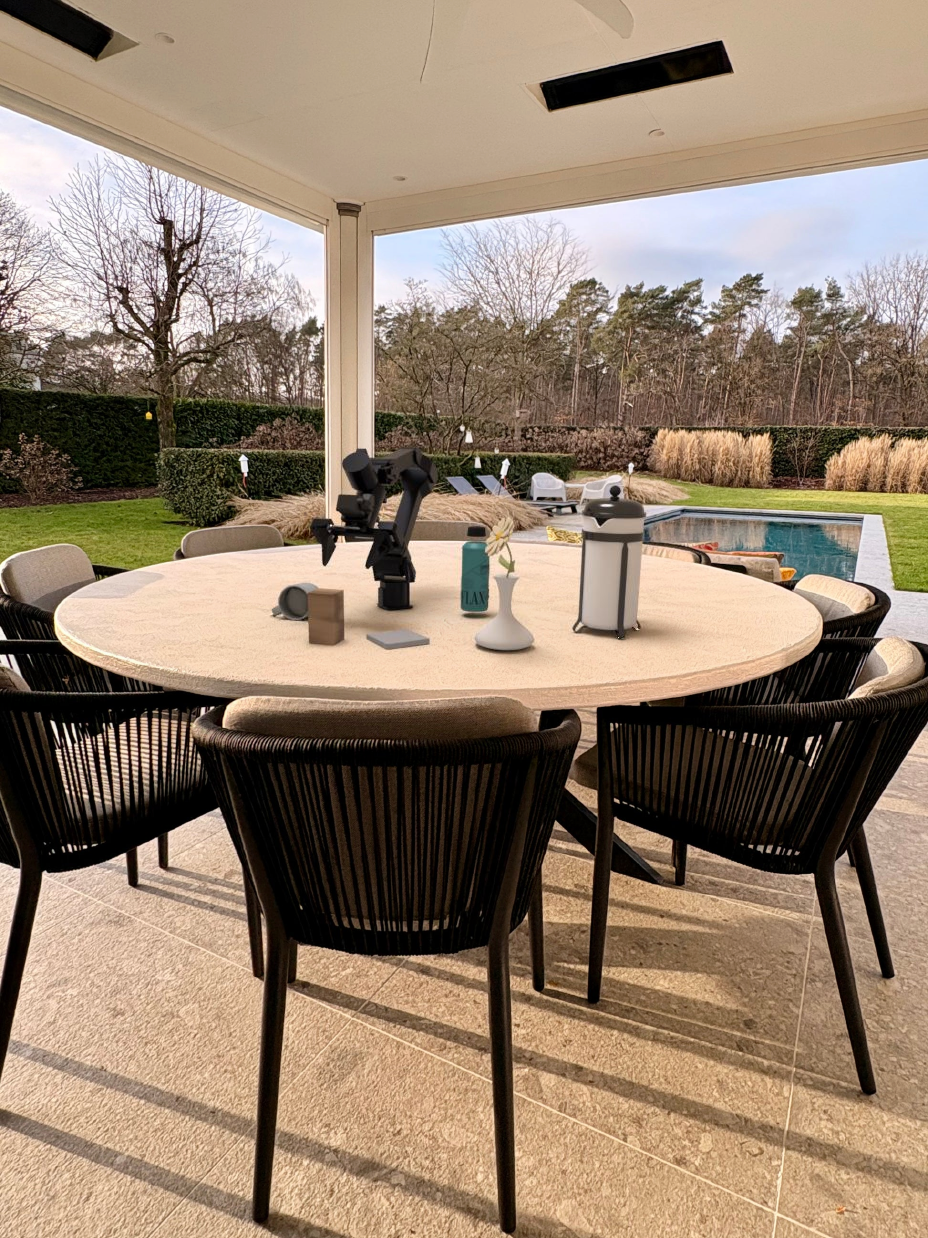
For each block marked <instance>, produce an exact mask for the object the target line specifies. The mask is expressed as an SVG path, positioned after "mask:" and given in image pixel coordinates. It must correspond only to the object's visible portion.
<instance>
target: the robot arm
mask: <svg viewBox="0 0 928 1238" xmlns="http://www.w3.org/2000/svg"><path fill="white" fill-rule="evenodd" d="M434 463H435V462H434V461H433V460H432V459H430V458H429V457H428V456H426V454H423V452H422V450H421V448H419V447H417V446H401V447H398V449H397V450H395V451H393V452H391V453H388V454H387V455H384V456H383V457H370V455H369V453H368V450H367V448H361V447H359V448H358V447H357V448H356V450H355V451H354V452H352V453H349V454H348V455H347V456H345V458H343V460H342V463H341V466H342V469H343V471H344V473H345V476H346V478H347V480H348V482H349V485H350V486H351V489H353V490H355V491H356V494H345V493H344V494H338V495H337V501H336V507H335V511H336V512H339V514H340V520H341V522H342V523H344V524H343V525H340V524H337V525H336V524H335V523H334V521H333V519H332V518H326V517H315V518H313V519H312V520H311V523H310V525H309V529H310V531H311V533H312V535H313V536H314V538H315V540H316V542H317V543H318V544H319V545H321V564H322V566H323V567H327V566H328V564H329V562H330V560H331V559H332V556H333V554H334V552H335V550H336V548H337V545H336V543H338V540H339V537H349V538H350V537H351V538H355V539H366V540H373V541H372V544H371V547H370V550H369V552H368V555H367V557H366V560H365V565H364V567H365V569H366V570H369V569H370V568H371V569H372V574H373V579H374V582H379V587H378V588H377V602H376V606H378V607H380V608H383V609H384V610H387V611H392V610H393V611H394V610H403V609H405V610H406V609H412V608H414V605H412V604H410V603H411V600H410V597H411V594H410V593H411V587H410V584H411V583H412V584H413V583H415V582H416V578H417V571H416V569H415V567H414V563H413V561H412V556H411V553H410V550H409V544H410V542H411V541H410V540H411V537H412V534H413V531H414V527H415V526H416V525H415V524H416V520H417V518H418V515H419V511H420V508H421V504H422V502H423V499H425V498H426V497H427V496H428V495H430V494H431V493H432V491H433V490H434V489H433V488H434V487H435V486H436V485H435V484H436V483H437V482H438V470H437V468H436V466H435V464H434ZM399 479H400V482H401V485H402V488H403V492H402V496H401V498H400V501H399V504H398V508H397V511H396V514H395V518H394V520H393V521H387V520H385V521H384V520H380V516H379V514H380V512H381V509H382V505H383V504H384V505H385V504H387V502H388V501H387V500H388V499H387V495H386V494H387V492H386V489H385V486H393V485H394V484H395V483H396V482H397V481H398V480H399ZM376 524H377V527H375V526H376Z"/></svg>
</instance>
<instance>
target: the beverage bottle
mask: <svg viewBox="0 0 928 1238" xmlns="http://www.w3.org/2000/svg"><path fill="white" fill-rule="evenodd" d="M466 532H467V534H466V536H467V537H471V538H483V537H487V533H486V527H485V526H480V525H474V526H473V525H472V526H468V527H467V531H466ZM487 545H488V543H486V541H481V540H480V541H479V540H471V541H466V542H465V543H464V544H463V545H462V546H461V551H462V552H461V580H460V594H459V595H460V598H459V601H460V609H461V611H463V612H469V613H470V612H471V613H481V612H487V611H488V609H489V603H490V601H489V599H490V567H491V566H490V557H491V556H488V553H485V548H486V547H487Z"/></svg>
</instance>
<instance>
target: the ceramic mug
mask: <svg viewBox="0 0 928 1238" xmlns="http://www.w3.org/2000/svg"><path fill="white" fill-rule="evenodd" d="M316 589H319V587H318V586H317V585H316V584H314V583H311V582H300V583H295V584H291V585H290V584H289V585H287V586H285V587H284V588H283V589H282V590H281V591H280V593H279V596H278V601H277V605H276V606H275V607H273V608H271V609H270V610H271V612H272V614H273V616H277V615H280V614H282V615H283V616H284V617H285V618H286V619H288V620H290V621H291V620H292V621H301V620H303V619H304V620H305V618H308V592H311V591H314V590H316ZM279 613H280V614H279Z"/></svg>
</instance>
